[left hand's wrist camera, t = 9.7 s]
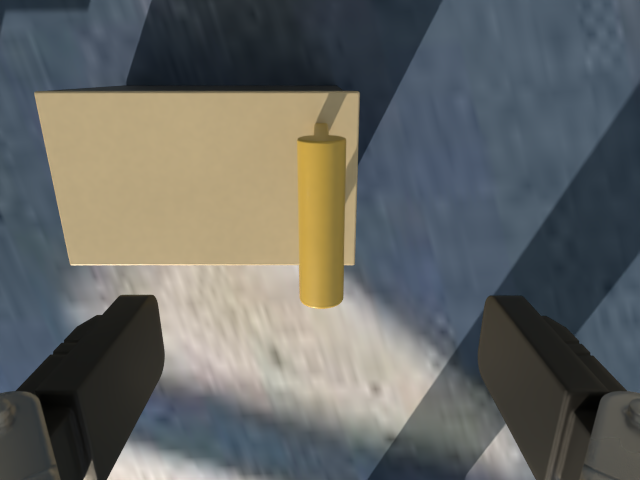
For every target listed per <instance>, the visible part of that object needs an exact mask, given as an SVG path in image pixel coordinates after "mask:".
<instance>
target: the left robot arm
mask: <svg viewBox="0 0 640 480" xmlns="http://www.w3.org/2000/svg"><path fill="white" fill-rule="evenodd" d="M164 358H165V353H164V344H163V337H162V330H161V323H160V316H159V309H158V303H157V300H156V298H155V296H154V295H120V296H119V297H118V298H117V299H116V300H115V301H114V302H113V303H112V305H111V306H110V307H109V308H108V309H107V310H106V311H105V312H104V313H103V315H96V316H95V317H93V318H91V319H89V320H88V321H86V322H84V323H83V324H81V325H79V326H77V327H76V328H75V329H74V330H73V331H72V333H71V334H70V335H69V336H68V337H67V338H66V339H65V340H64V343H61V344H60V345H59V346H58V347H57V348H56V349H55V350H54V351H53V355H50V356H49V357H48V358H47V359H46V360H45V361H44V362H43V363H42V364H41V365H40V366H39V367H38V368H37V369H36V370H35V371H34V372H33V373H32V374H31V375H30V376H29V378H28V379H27V380H26V381H25V382H24V383H23V384H22V385H21V386H20V387H19V388H18V389H17V390H16V391H11V392H4V393H0V480H107V478H108V476H109V474H110V472H111V470H112V469H113V467H114V465H115V463H116V461H117V459H118V457H119V455H120V453H121V451H122V449H123V448H124V446H125V444H126V442H127V440H128V438H129V436H130V434H131V432H132V430H133V428H134V427H135V425H136V423H137V421H138V419H139V417H140V415H141V413H142V411H143V409H144V407H145V406H146V404H147V402H148V400H149V398H150V396H151V394H152V392H153V390H154V388H155V387H156V385H157V383H158V381H159V379H160V377H161V374H162V371H163V367H164ZM478 365H479V371H480V374H481V377H482V379H483V381H484V383H485V385H486V386H487V388H488V390H489V392H490V394H491V396H492V398H493V400H494V402H495V403H496V405H497V407H498V409H499V411H500V413H501V415H502V417H503V419H504V420H505V422H506V424H507V426H508V428H509V430H510V432H511V434H512V435H513V437H514V439H515V441H516V443H517V445H518V447H519V449H520V451H521V452H522V454H523V456H524V458H525V460H526V462H527V464H528V466H529V468H530V469H531V471H532V473H533V475H534V477H535V479H536V480H640V393H636V392H629V391H627V390H626V389H625V388H624V387H623V386H622V385H621V384H620V383H619V382H618V381H617V380H616V379H615V378H614V377H613V376H612V375H611V374H610V373H609V372H608V371H607V370H606V369H605V368H604V366H603V365H602V364H601V363H600V362H599V361H598V360H597V359H596V358H595V357H594V356H591V355H590V352H589V351H588V350H587V349H586V348H585V347H584V346H583V345H582V344H579V341H578V340H577V338H576V337H575V336H574V335H573V334H572V333H571V332H570V331H569V330H568V329H567V328H566V327H564V326H562V325H561V324H559V323H557V322H556V321H554V320H552V319H550V318H549V317H547V316H541V315H540V314H539V313H538V312H537V311H536V310H535V309H534V308H533V307H532V305H531V304H530V303H529V302H528V301H527V300H526V299H525V298H524V297H523V296H489V297H488V298H487V299H486V302H485V306H484V313H483V320H482V327H481V334H480V341H479V348H478Z"/></svg>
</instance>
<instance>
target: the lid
mask: <svg viewBox="0 0 640 480" xmlns="http://www.w3.org/2000/svg"><path fill="white" fill-rule="evenodd" d="M34 94H35V99H36V103H37V108H38V113H39V118H40V122H41V127H42V132H43V137H44V142H45V146H46V151H47V156H48V161H49V165H50V170H51V175H52V180H53V185H54V189H55V194H56V199H57V204H58V208H59V213H60V218H61V223H62V228H63V232H64V237H65V242H66V247H67V251H68V256H69V261H70V265H299V286H300V300H301V302H302V303H303V304H304V305H306V306H308V307H312V308H318V309H325V308H331V307H335V306H337V305H339V304H340V303H341V302H342V300H343V283H344V265H354V264H355V239H356V205H357V171H358V137H359V103H360V93H359V92H358V91H37V92H35V93H34Z"/></svg>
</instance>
